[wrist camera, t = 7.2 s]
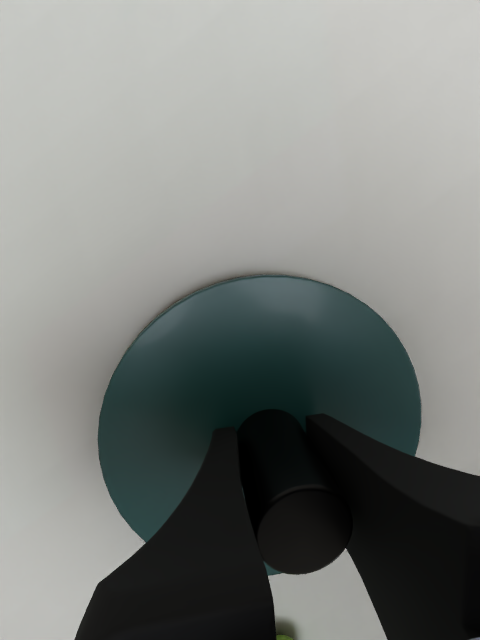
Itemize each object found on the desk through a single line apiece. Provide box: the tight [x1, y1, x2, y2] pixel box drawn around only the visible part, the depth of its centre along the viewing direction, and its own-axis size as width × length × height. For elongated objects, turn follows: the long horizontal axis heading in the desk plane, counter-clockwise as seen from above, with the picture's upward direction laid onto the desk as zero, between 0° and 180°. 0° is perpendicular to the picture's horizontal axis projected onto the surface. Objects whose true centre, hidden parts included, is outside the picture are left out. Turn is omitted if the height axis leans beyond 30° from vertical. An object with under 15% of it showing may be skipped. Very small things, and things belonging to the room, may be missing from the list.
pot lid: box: [98, 275, 421, 576], centre depth 11 cm, size 11×11×5 cm
